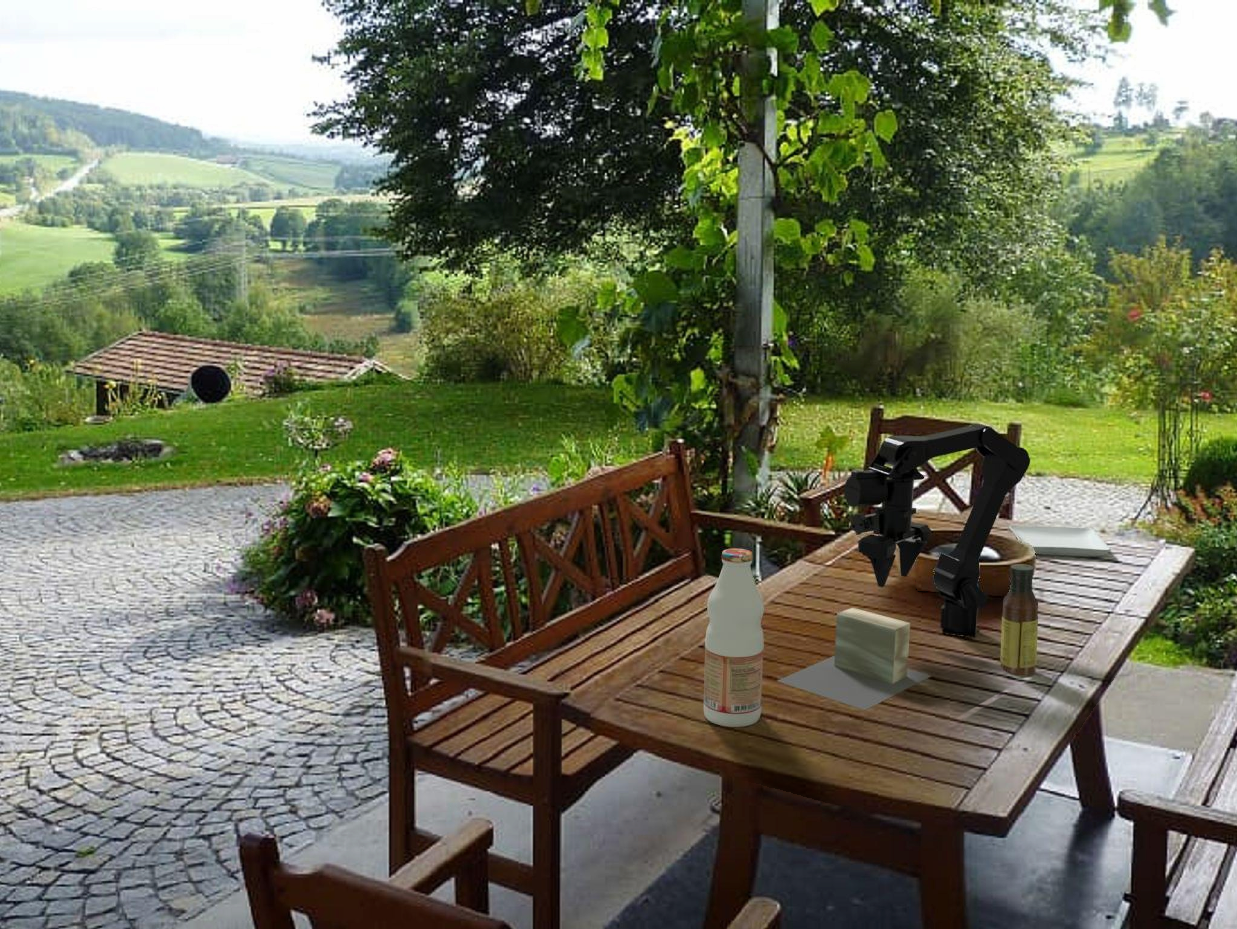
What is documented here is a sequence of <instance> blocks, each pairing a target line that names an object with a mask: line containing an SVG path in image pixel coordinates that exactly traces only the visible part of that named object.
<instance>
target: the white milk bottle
mask: <svg viewBox="0 0 1237 929" xmlns="http://www.w3.org/2000/svg"><path fill="white" fill-rule="evenodd" d="M753 555H754V554H753V552H752V551H750V550H748V549H745V548H738V547H737V548H728V549H724V550H723V551H722V553H721V562H722V568H721V571H720V574H719V575H718V576H719V577H718V579H717V581H716V584H715V585H714V587H713V589H712V590H711V591H710V594H709V595H708V598H707V603H706V604H707V605H706V607H707V613H708V617H709V623H708V625H707V627H706V632H705V640H704V641H705V642H704V643H705V644H704V677H703V680H704V681H703V682H704V683H703V714H704V717H705V719H706V720H708V721H709V722H711V723H713V724H715V725H718V726H723V727H728V728H742V727H747V726H751V725H753V724H755V723H757V722H758V721H759V719H760V717H761V713H762V697H763V696H762V694H763V693H762V692H763V668H764V667H763V666H764V662H763V660H764V647H765V646H764V642H765V641H764V632H763V628H762V626H761V625H762V624H761V622H762V618H763V615H764V610H765V603H764V599H763V595H762V594H761V592H760V591H759V589H758V587H757V585H756V581H755V579H754V575H753V572H752V569H751V564H752V563H753V559H754V558H753V557H754V556H753Z"/></svg>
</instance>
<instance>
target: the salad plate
mask: <svg viewBox="0 0 1237 929" xmlns="http://www.w3.org/2000/svg"><path fill="white" fill-rule="evenodd" d="M1008 527H1009V529H1010V531H1011V532H1012V534H1013V535H1014V536H1015V537H1016V538H1017V540H1018V541H1019V540H1021V541H1022V542H1026V543H1029V544H1030V545H1032V547H1033V548H1034V550H1035V552H1036V554H1035V555H1043V556H1047V555H1048V556H1061V557H1062V556H1065V557H1080V558H1081V557H1085V558H1086V557H1088V558H1090V557H1098V556H1103V555H1107V554H1108V553H1110V551H1111V548H1110V546H1108V544H1107V543H1106V542H1105V541H1104V540H1103V539H1102V538H1101V537H1100V535H1099V534H1098V533H1097V532H1096V531H1095V529H1094V528H1091V527H1075V526H1073V527H1071V526H1054V525H1053V526H1048V525H1047V526H1045V525H1009V526H1008Z"/></svg>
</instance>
